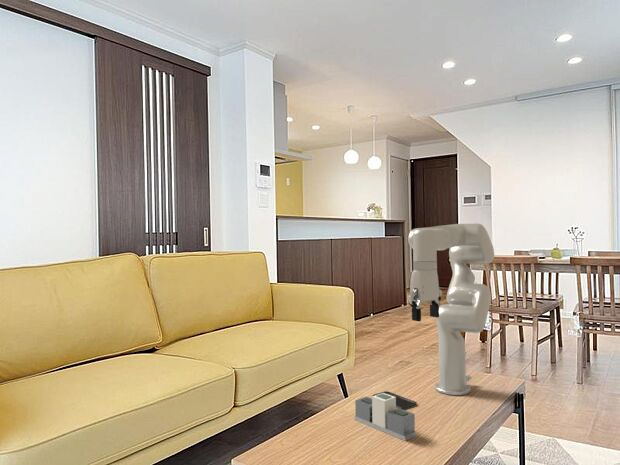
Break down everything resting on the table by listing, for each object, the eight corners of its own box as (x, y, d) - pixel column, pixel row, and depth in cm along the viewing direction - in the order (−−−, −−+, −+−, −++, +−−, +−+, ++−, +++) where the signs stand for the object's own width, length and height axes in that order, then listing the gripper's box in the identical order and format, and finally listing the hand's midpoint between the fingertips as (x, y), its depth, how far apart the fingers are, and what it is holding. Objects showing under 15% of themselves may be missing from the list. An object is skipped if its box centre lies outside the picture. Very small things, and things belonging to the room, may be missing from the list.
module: (383, 418, 143) (383, 392, 143) (396, 423, 140) (395, 396, 140) (372, 423, 140) (372, 395, 140) (384, 428, 136) (384, 400, 136)
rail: (365, 415, 149) (365, 395, 149) (416, 435, 134) (415, 413, 134) (354, 419, 146) (354, 399, 146) (405, 441, 131) (404, 418, 131)
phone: (386, 390, 170) (418, 402, 158) (386, 393, 170) (418, 406, 158) (370, 395, 165) (402, 408, 153) (370, 398, 165) (402, 411, 153)
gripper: (431, 264, 160) (431, 314, 160) (399, 267, 149) (399, 320, 149) (450, 265, 155) (450, 316, 155) (418, 268, 143) (418, 324, 143)
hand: (425, 318), depth 152 cm, fingers open, 9 cm apart
